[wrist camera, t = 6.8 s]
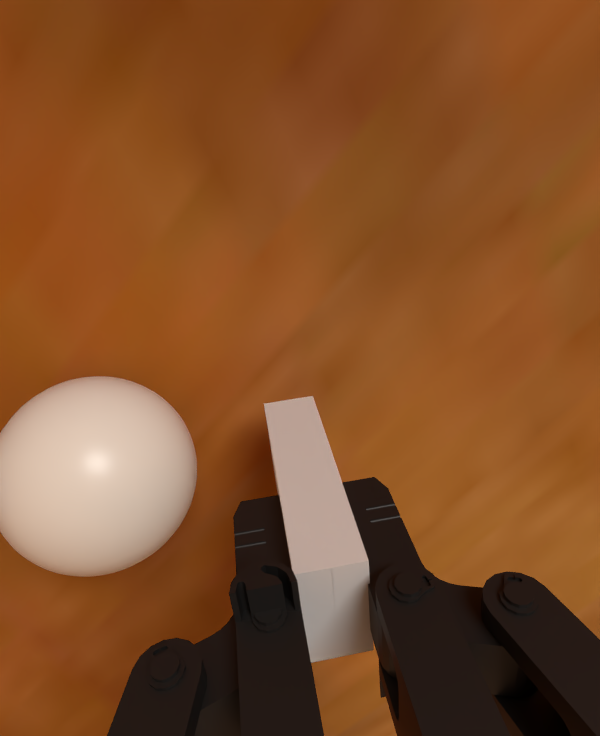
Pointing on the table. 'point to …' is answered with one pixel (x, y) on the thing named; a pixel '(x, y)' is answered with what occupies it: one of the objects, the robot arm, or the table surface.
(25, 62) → the table surface
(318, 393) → the table surface
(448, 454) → the table surface
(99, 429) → the cue ball
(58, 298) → the table surface
